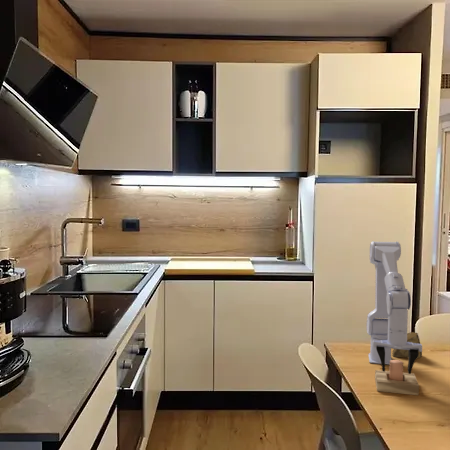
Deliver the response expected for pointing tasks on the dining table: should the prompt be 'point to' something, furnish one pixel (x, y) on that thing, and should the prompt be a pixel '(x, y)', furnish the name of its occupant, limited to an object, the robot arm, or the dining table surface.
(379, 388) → the socket block
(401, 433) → the dining table surface
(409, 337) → the rock
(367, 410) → the dining table surface
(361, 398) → the dining table surface
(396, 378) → the peg
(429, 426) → the dining table surface
